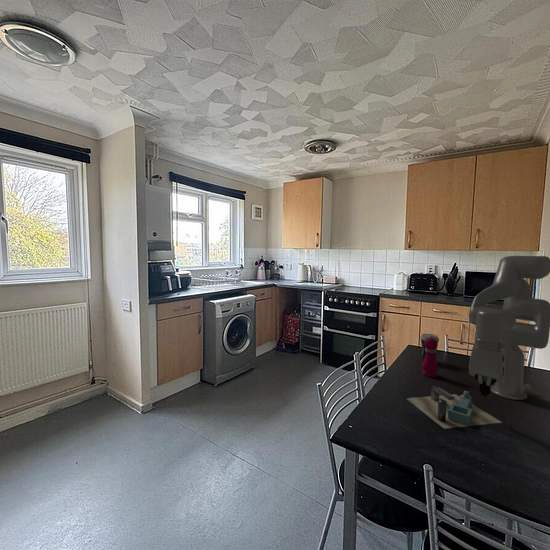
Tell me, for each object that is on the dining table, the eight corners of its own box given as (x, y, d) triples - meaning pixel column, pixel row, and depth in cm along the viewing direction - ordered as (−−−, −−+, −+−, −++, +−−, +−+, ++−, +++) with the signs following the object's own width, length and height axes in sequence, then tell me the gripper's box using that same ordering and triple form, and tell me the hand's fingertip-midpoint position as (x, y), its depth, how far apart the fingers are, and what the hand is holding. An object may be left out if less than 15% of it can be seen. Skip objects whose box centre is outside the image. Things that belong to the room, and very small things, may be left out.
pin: (442, 417, 110) (443, 398, 110) (447, 421, 108) (448, 402, 107) (435, 418, 110) (436, 399, 109) (440, 422, 107) (441, 402, 107)
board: (455, 396, 129) (456, 381, 128) (502, 425, 107) (503, 407, 107) (405, 401, 125) (406, 385, 125) (444, 431, 103) (444, 412, 103)
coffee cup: (422, 364, 167) (423, 337, 166) (417, 358, 177) (418, 332, 176) (441, 365, 166) (442, 338, 165) (434, 359, 175) (435, 333, 174)
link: (457, 399, 123) (458, 387, 123) (476, 405, 119) (477, 392, 119) (447, 418, 109) (448, 404, 109) (468, 424, 105) (469, 410, 105)
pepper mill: (439, 378, 148) (441, 338, 147) (423, 377, 150) (425, 337, 148) (435, 372, 155) (436, 334, 154) (420, 371, 157) (421, 333, 155)
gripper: (516, 348, 106) (512, 399, 107) (468, 338, 118) (465, 385, 119) (510, 351, 101) (506, 405, 102) (460, 341, 113) (458, 390, 114)
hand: (484, 394), depth 110 cm, fingers closed
